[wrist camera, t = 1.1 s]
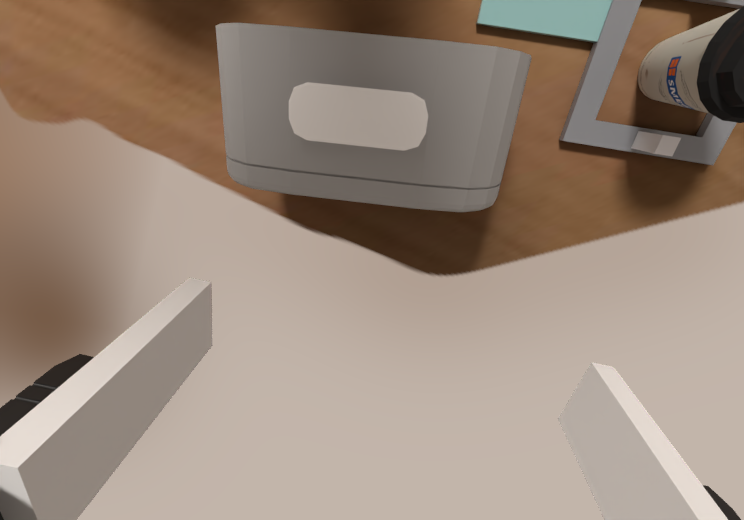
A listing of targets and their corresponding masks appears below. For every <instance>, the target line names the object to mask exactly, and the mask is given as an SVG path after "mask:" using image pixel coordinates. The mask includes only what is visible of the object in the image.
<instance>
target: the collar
mask: <svg viewBox="0 0 744 520" xmlns="http://www.w3.org/2000/svg"><path fill="white" fill-rule="evenodd" d="M641 1H642V0H612V2H611V5H610V8H609V11H608V13H607V16H606V19H605V22H604V25H603V27H602V30H601V33H600V36H599V38H598V41H597V42H594V43H593V46H592V49H591V52H590V55H589V57H588V60H587V63H586V66H585V69H584V72H583V74H582V77H581V80H580V83H579V86H578V88H577V91H576V94H575V97H574V100H573V102H572V105H571V108H570V111H569V114H568V116H567V119H566V122H565V125H564V128H563V131H562V133H561V136H560V139H559V140H562V141H567V142H573V143H579V144H585V145H591V146H598V147H604V148H610V149H616V150H622V151H628V152H634V153H641V154H647V155H653V156H659V157H665V158H671V159H677V160H684V161H690V162H696V163H702V164H708V165H714V163H715V161H716V159H717V157H718V155H719V154H720V152H721V150H722V148H723V146H724V145H725V143H726V141H727V139H728V137H729V135H730V134H731V132H732V130H733V128H734V126H735V125H736V123H737V122H730V121H723V120H721V119H719V118H717V117H716V116H714V115H712V114H710V113H707V115H706V117H705V119H704V121H703V122H702V124H701V126H700V128H699V130H698V132H697V134H696V136H690V135H684V134H678V133H672V132H665V131H659V130H653V129H647V128H641V127H634V126H628V125H622V124H616V123H610V122H603V121H597V120H595V119H596V117H597V114H598V112H599V109H600V106H601V104H602V101H603V99H604V96H605V94H606V91H607V88H608V86H609V83H610V81H611V78H612V76H613V73H614V70H615V68H616V65H617V63H618V60H619V57H620V55H621V52H622V50H623V47H624V45H625V42H626V39H627V37H628V34H629V32H630V29H631V27H632V24H633V21H634V19H635V16H636V14H637V11H638V9H639V6H640V3H641ZM685 1H691V2H698V3H704V4H711V5H717V6H724V7H731V8H737V9H740V8H742V7H743V6H744V0H685Z"/></svg>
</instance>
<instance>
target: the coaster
mask: <svg viewBox="0 0 744 520" xmlns="http://www.w3.org/2000/svg"><path fill="white" fill-rule="evenodd" d="M611 2H612V0H482V1H481V5H480V9H479V14H478V18H477V22H476V24H477V25H484V26H490V27H497V28H503V29H509V30H516V31H522V32H529V33H535V34H541V35H548V36H554V37H561V38H567V39H573V40H580V41H586V42H593V43H594V42H597V41H598V38H599V36H600V33H601V30H602V27H603V25H604V22H605V19H606V16H607V13H608V11H609V8H610V5H611Z"/></svg>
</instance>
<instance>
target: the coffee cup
mask: <svg viewBox="0 0 744 520" xmlns="http://www.w3.org/2000/svg"><path fill="white" fill-rule="evenodd" d="M638 84H639V88H640V90H641V91H642V93H643V94H644V95H645V96H647V97H648V98H650V99H652V100H656V101H660V102H665V103H669V104H673V105H677V106H681V107H685V108H689V109H693V110H698V111H702V112H706V113H710V114H712V115H714V116H716V117H717V118H719V119H721V120H723V121H730V122H737V123H742V122H744V6H743V7H742V8H740V9H738V10H735V11H733V12H731V13H728V14H726V15H723V16H721V17H719V18H716V19H714V20H711V21H709V22H707V23H704V24H702V25H699V26H697V27H694V28H692V29H690V30H687V31H685V32H682V33H680V34H678V35H675V36H673V37H670V38H668V39H666V40H664V41H662V42H660V43H658V44H657V45H656V46H655V47H654V48H653V49H651V50H650V51H649V52H648V54H647V55H646V57H645V58H644V59H643V61H642V63H641V66H640V69H639V72H638Z"/></svg>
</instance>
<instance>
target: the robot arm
mask: <svg viewBox="0 0 744 520" xmlns="http://www.w3.org/2000/svg"><path fill="white" fill-rule="evenodd" d="M211 294H212V290H211V282H209V281H204V280H199V279H194V278H188V279H187V280H186V281H184V282H183V283H182V284H181V285H180V286H179V287H177V288H176V289H175V290H174V291H173V292H171V293H170V294H169V295H168V296H167V297H165V298H164V299H163V300H162V301H161V302H159V303H158V304H157V305H156V306H155V307H154V308H152V309H151V310H150V311H149V312H148V313H147V314H145V315H144V316H143V317H142V318H140V319H139V320H138V321H137V322H136V323H135V324H133V325H132V326H131V327H130V328H129V329H128V330H126V331H125V332H124V333H123V334H121V335H120V336H119V337H118V338H117V339H115V340H114V341H113V342H112V343H111V344H109V345H108V346H107V347H106V348H105V349H104V350H102V351H101V352H100V353H99V354H98V355H96V356H95V357H91V356H87V355H82V354H79V355H77V356H75V357H73V358H71V359H69V360H67V361H64V362H62V363H60V364H58V365H56V366H54V367H53V368H52V369H50V370H49V371H48V372H46V373H45V374H44V375H43V376H41V377H40V378H39V379H37V380H36V381H35V382H34V384H33V385H32V386H28V387H27V388H26V389H25V390H23V391H22V392H21V393H19V394H18V395H17V396H16V398H15V399H14V400H10V401H9V402H8V403H6V404H5V405H4V406H2V407H1V408H0V520H77V519H78V517H79V516H80V515H81V513H82V512H83V511H84V510H85V508H86V507H87V506H88V504H89V503H90V502H91V501H92V499H93V498H94V497H95V495H96V494H97V493H98V492H99V490H100V489H101V488H102V486H103V485H104V484H105V483H106V481H107V480H108V479H109V477H110V476H111V475H112V474H113V472H114V471H115V470H116V468H117V467H118V466H119V465H120V463H121V462H122V461H123V459H124V458H125V457H126V456H127V454H128V453H129V452H130V450H131V449H132V448H133V447H134V445H135V444H136V442H137V441H138V440H139V439H140V438H141V436H142V435H143V434H144V432H145V431H146V430H147V429H148V427H149V426H150V425H151V423H152V422H153V421H154V420H155V418H156V417H157V416H158V414H159V413H160V412H161V411H162V409H163V408H164V407H165V405H166V404H167V403H168V402H169V400H170V399H171V398H172V396H173V395H174V394H175V393H176V391H177V390H178V389H179V387H180V386H181V385H182V383H183V382H184V381H185V380H186V378H187V377H188V376H189V375H190V373H191V372H192V371H193V370H194V368H195V367H196V366H197V364H198V363H199V362H200V361H201V359H202V358H203V357H204V355H205V354H206V353H207V352H208V350H209V349H210V348H211V346H212V295H211ZM558 420H559V422H560V424H561V427H562V429H563V431H564V433H565V435H566V437H567V439H568V442H569V444H570V446H571V448H572V450H573V453H574V455H575V457H576V459H577V461H578V463H579V466H580V468H581V470H582V472H583V474H584V477H585V479H586V481H587V483H588V485H589V487H590V489H591V492H592V494H593V496H594V498H595V500H596V502H597V505H598V507H599V509H600V511H601V513H602V516H603V517H604V520H741V519H740V518H739V517H738V516H737V514H736V513H735V511H734V510H733V509H732V508H731V507H730V506H729V505H728V504H727V503H726V502H725V501H724V500H723V499H721V498H720V497H719V496H718V495H717V494H716V493H715V492H714V491H713V490H712V489H711V488H710V487H708V486H704V485H702V484H701V483H700V481H699V480H698V479H697V477H696V476H695V475H694V473H693V472H692V471H691V469H690V468H689V467H688V466H687V464H686V463H685V461H684V460H683V459H682V457H681V456H680V455H679V453H678V452H677V451H676V450H675V448H674V447H673V446H672V444H671V443H670V441H669V440H668V439H667V438H666V436H665V435H664V434H663V432H662V431H661V429H660V428H659V427H658V425H657V424H656V423H655V421H654V420H653V419H652V418H651V416H650V415H649V413H648V412H647V411H646V409H645V408H644V407H643V406H642V404H641V403H640V401H639V400H638V399H637V397H636V396H635V395H634V393H633V392H632V391H631V389H630V388H629V387H628V386H627V384H626V383H625V381H624V380H623V379H622V378H621V376H620V375H619V373H618V372H617V371H616V370H615V368H614V367H611V366H605V365H601V364H596V363H591V364H590V366H589V368H588V369H587V371H586V372H585V374H584V376H583V378H582V379H581V381H580V383H579V384H578V386H577V388H576V389H575V391H574V393H573V394H572V396H571V398H570V399H569V401H568V403H567V404H566V406H565V408H564V410H563V411H562V413H561V415H560V416H559V418H558Z"/></svg>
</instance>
